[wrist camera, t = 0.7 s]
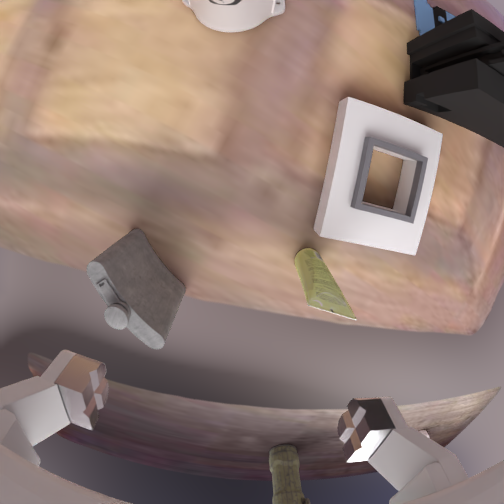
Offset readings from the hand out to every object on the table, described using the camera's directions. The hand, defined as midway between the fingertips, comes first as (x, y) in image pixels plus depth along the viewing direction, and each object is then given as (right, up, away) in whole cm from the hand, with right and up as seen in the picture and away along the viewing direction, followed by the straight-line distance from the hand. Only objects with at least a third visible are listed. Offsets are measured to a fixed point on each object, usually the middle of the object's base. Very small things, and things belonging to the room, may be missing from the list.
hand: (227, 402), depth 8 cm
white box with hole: (+24, +18, +41) cm, 51 cm away
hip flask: (-18, +2, +46) cm, 49 cm away
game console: (+49, +46, +33) cm, 74 cm away
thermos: (+10, -57, +67) cm, 88 cm away
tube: (+11, +3, +46) cm, 48 cm away
